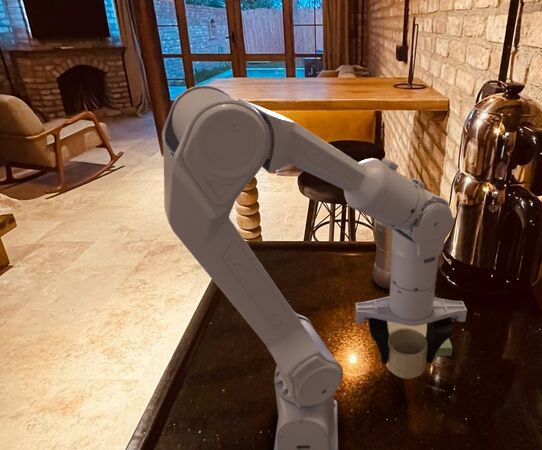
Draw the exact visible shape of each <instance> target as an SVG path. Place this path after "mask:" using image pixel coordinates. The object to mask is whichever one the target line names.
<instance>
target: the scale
mask: <svg viewBox="0 0 542 450" xmlns="http://www.w3.org/2000/svg"><path fill="white" fill-rule="evenodd" d="M387 323H388V332H389V334H390V333H391V332H392V331H394V330H397V329H400V328H409V329H412V330H416V331H418V332H419V333H421V334H422V335H424V337H425V338H426V332H427V324H423V325H419V326H409V325H403V324H399V323H394V322H389V321H387ZM452 355H453V344H452V342H451V340H450V338H448V339H447V340H446V341H445V342H444V343H443V344H442V345H441V346H440V348H439V349H438V351H437V353H436V354H435V356H434V357H452Z"/></svg>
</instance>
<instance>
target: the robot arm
mask: <svg viewBox="0 0 542 450" xmlns="http://www.w3.org/2000/svg"><path fill="white" fill-rule="evenodd" d="M161 140H162V150H163V196H164V197H163V203H164V212H165V215H166V218H167V222H168V224H169V226H170V228H171V230H172V232H173V233H174V234H175V235H176V237H177V238H178V239H179V240H180V242H181V243H182V245H183V246H185V248H186V249H187V250H188V252H189V253H190V254H191V255H192V256H193V258H194V259H195V260H196V261H197V262H198V264H199V265H200V266H201V268H202V269H203V270H204V271H205V272H206V273H207V275H208V276H209V278H211V280H212V281H213V282H214V283H215V285H216V286H217V287H218V288H219V290H220V291H221V292H222V293H223V294H224V296H225V297H226V298H227V299H228V301H229V302H230V303H231V304H232V306H233V307H234V308H235V309H236V310H237V312H238V313H239V314H240V316H241V317H242V318H243V319H244V320H245V321H246V323H247V324H248V325H249V327H251V329H252V331H254V332H255V334H256V335H257V336H258V338H259V339H260V340H261V342H263V344H264V345H265V346H266V348H267V351H268V353H269V354H270V355H271V356H272V358H273V360H274V362H275V364H276V367H275V371H274V379H273V380H274V389H275V390H274V391H275V397H276V398H275V399H276V407H277V416H278V417H277V424H276V431H275V440H274V445H273V450H339V432H338V430H339V428H338V423H339V422H338V401H337V400H336V399H335V393H336V392H337V390H338V388H339V387H340V385H341V383H342V381H343V377H344V369H343V367H342V364H341V363H340V362H339V361H338V360H337V359H336V358H335V357H334V356H333V354H332V353H331V352H330V350H329V349H328V347H327V345H326V344H325V343H324V341H323V339H322V338H321V337H320V336H319V334H318V332H317V331H316V330H315V328H314V327H313V326H314V325H313V323H312V322H311V321H310V319H308V318H307V317H306V316H304V315H301V314H299V313H297V312H296V311H294V309H293V307H292V306H291V305H290V304H289V302H288V300H287V299H286V298H285V296H284V295H283V294H282V292H281V291H280V289H279V288H278V287H277V284H276V283H275V281H274V280H273V279H272V278H271V276H270V275H269V273H268V272H267V270H266V269H265V267H264V266H263V264H262V263H261V261H260V260H259V259H258V257H257V256H256V254H255V253H254V252H253V250H252V248H251V247H250V246H249V244H248V242H247V241H246V239H244V237H243V236H242V234H241V233H240V231H239V230H238V228H237V227H236V225H235V224H234V223H233V221H232V219H231V218H230V215H231V212H232V210H233V208H234V205H235V202H236V200H237V199H238V197H239V196H240V195H241V194H242V192H243V191H244V190H245V189H246V188H247V187H248V185H249V184H250V183H251V182H252V181H253V179H254V178H255V176H256V175H257V174H258V173H259V171H260V170H261V169H262V168H263V170H265V171H266V172H267V173H269V174H270V173H275V172H277V171H278V170H280V169H282V168H284V167H286V166H288V165H290V166H294V167H296V168H298V169H300V170H302V171H304V172H306V173H308V174H310V175H312V176H313V177H317V178H319V179H320V180H322V181H324V182H327V183H329V184H331V185H333V186H335V187H338V188H340V189H342V190H343V195H344V200H345V201H346V203H347V205H348V206H349V207H350V208H351V209H353V210H355V211H358V212H359V213H361V214H363V215H365V216H368V217H370V218H371V219H373V220H374V219H376V220H378V221H380V222H382V223H384V224H386V225H388V226H390V227H392V228H394V229H393V245H392V262H391V279H390V289H389V296H386V297H385V296H384V297H381V298H377V299H373V300H369V301H363V302H355V323H356V324H364V323H365V321H368V327H369V333H370V336H371V338H372V339H373V341H374V342H375V344H376V346H377V348H378V351H379V353H380V360H381V364H382V365H386V364H387V345H388V339H389V332H388V323H387V321H389V322H394V323H399V324H403V325H409V326H419V325H423V324H427V332H426V340H427V341H428V349H427V357H426V364H432V363H433V360H434V358H435V357H436V356H435V354H436V353H437V351H438V349H439V348H440V346H441V345H442V344H443V343H444V342H445V341H446V340H447V339H448V338H449V339H450V338H451V337H452V336H453V333H454V326H453V323H452V321H453V319H455V320H456V322H459V323H460V322H462V323H463V322H466V318H467V313H468V308H467V307H466V305H465V303H464V301H463V300H451V299H445V298H440V297H435V290H436V284H437V283H436V282H437V276H438V275H437V274H438V266H439V260H440V259H439V258H440V255H442V251H444V248H445V247H444V246H445V241H446V239H447V238H448V236H449V234H450V233H451V232H452V229H453V228H454V226H455V225H454V224H455V220H456V217H455V216H453V213H452V210H451V207H450V204H449V203H448V201H447V200H446V199H444V198H442V197H441V196H439V195H436V194H435V193H432V192H431V191H428V190H427V189H424V188H425V183H424V181H423V182H422V181H421V180H419V179H417V178H415V177H414V178H412V179H410V178H408V177H407V176H405V175H404V174H402V173H400V172H399V171H398V168H399V164H397V163H395V162H394V161H392V160H391V159H388V158H386V157H383V158H382V159H381V160H380V159H378V158H373V157H371V158H367V159H366V158H365V159H364V160H361V161H359V162H358V161H357V160H355V159H353V158H352V157H351V156H349V155H347V154H346V153H344V152H343V151H341V150H340V149H338V148H336V147H335V146H333V145H332V144H330V143H328V142H327V141H325V140H323V139H322V138H321V137H319V136H318V135H316V134H314V133H312V132H311V131H310V130H309V129H306V128H305V127H303V126H302V125H301V124H299V123H297V122H295V121H293V120H291V119H289V118H287V117H285V116H283V115H282V114H279V113H276V112H274V111H271V110H269V109H266V108H264V107H262V106H260V105H257V104H254V103H251V102H249V101H246V100H244V99H241V98H238V99H234V98H233V97H231V96H230V94H228V93H226V92H225V91H224V90H222V89H220V88H218V87H215V86H212V85H195V86H192V87H188V88H187V89H185V90H184V91H183V92H181V93H180V94H179V95H178V96H177V97H176V98H175V100H174V101H173V103H172V105H171V107H170V111H169V113H168V116H167V118H166V120H165V123H164V126H163V127H162V131H161Z"/></svg>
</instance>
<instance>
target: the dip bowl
mask: <svg viewBox="0 0 542 450" xmlns="http://www.w3.org/2000/svg"><path fill="white" fill-rule="evenodd" d="M427 349H428V341H427V340H426V338H425V337H424V335H422V334H421V333H419V332H418V331H416V330H412V329H409V328H400V329H397V330H394V331H392V332H391V333H390V334H389V339H388V345H387V364H385V365H386V368H387V370H388V371H389V372H390V373H392V374H393V375H394V376H396V377H398V378H400V379H403V380H404V379H405V380H408V379H409V380H410V379H416V378H417V377H420V376H421V375H422V374H423V373H424V371H425V370H426V364H427V361H426V357H427Z"/></svg>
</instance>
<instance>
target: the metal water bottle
mask: <svg viewBox="0 0 542 450" xmlns="http://www.w3.org/2000/svg"><path fill="white" fill-rule="evenodd" d="M373 223H374V224H373V225H374V233H375V243H376V252H375V259H374V260H375V261H374V264H373V268H372V277H373V280H374V282H375V283H376V285H377V286H378V287H380V288H383V289H386V290H390V279H391V262H392V245H393V229H394V228H392V227H390V226H388V225H386V224H384V223H382V222H380V221H378V220H376V219H374V218H373Z"/></svg>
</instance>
